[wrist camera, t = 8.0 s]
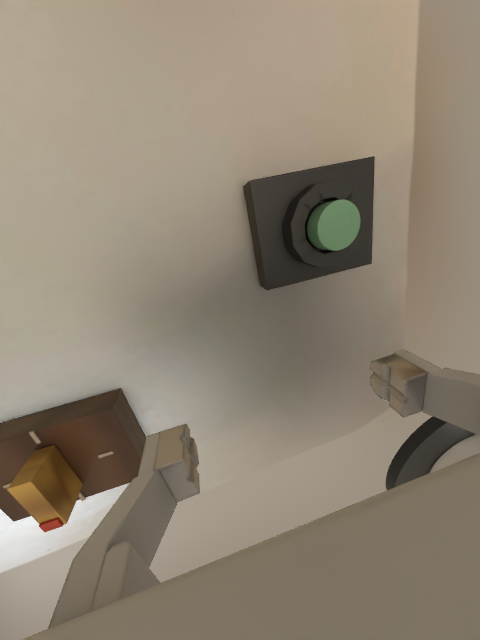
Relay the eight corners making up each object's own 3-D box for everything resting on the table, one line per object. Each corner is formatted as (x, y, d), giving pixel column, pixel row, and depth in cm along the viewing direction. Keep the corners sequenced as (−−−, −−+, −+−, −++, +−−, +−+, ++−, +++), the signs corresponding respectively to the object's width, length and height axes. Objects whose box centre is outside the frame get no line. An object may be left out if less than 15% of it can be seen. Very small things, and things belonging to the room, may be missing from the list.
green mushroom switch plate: (357, 163, 21) (392, 148, 17) (356, 260, 24) (386, 265, 21) (243, 186, 20) (255, 175, 16) (259, 285, 23) (273, 295, 20)
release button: (345, 198, 18) (360, 194, 17) (346, 244, 20) (360, 245, 18) (304, 207, 18) (315, 204, 16) (308, 253, 19) (318, 255, 18)
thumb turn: (33, 450, 21) (3, 492, 18) (54, 444, 21) (28, 484, 18) (65, 490, 23) (43, 534, 20) (83, 484, 24) (65, 527, 20)
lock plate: (120, 387, 24) (111, 408, 21) (153, 452, 28) (149, 478, 25) (-25, 429, 22) (-57, 458, 19) (32, 492, 26) (13, 524, 23)
